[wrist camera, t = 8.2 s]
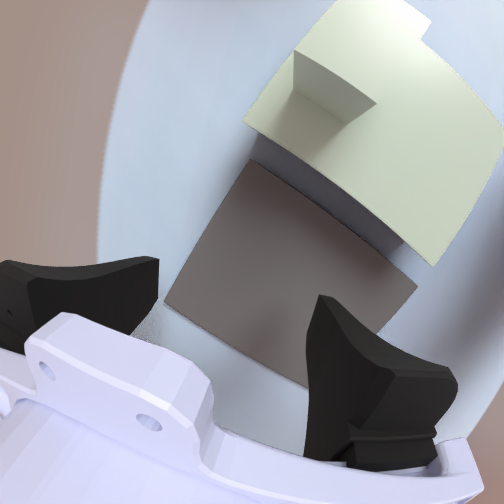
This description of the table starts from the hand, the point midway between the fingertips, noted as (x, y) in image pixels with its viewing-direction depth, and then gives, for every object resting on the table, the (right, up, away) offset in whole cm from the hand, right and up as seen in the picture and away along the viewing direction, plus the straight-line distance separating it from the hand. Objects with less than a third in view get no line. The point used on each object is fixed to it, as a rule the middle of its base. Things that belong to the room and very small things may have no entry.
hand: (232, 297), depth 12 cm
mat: (+3, 0, +4) cm, 5 cm away
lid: (+7, +8, -2) cm, 11 cm away
